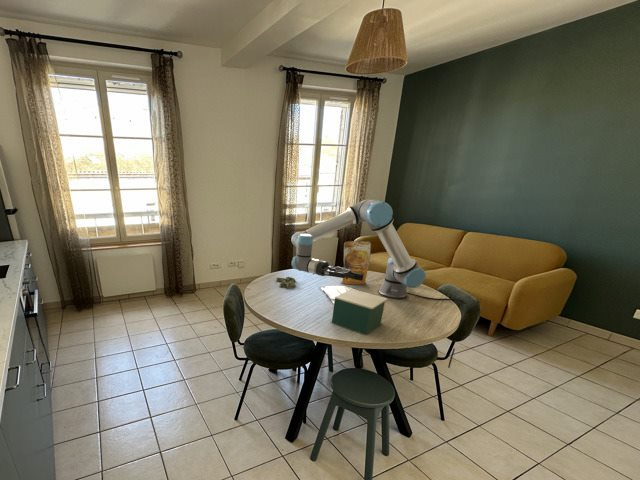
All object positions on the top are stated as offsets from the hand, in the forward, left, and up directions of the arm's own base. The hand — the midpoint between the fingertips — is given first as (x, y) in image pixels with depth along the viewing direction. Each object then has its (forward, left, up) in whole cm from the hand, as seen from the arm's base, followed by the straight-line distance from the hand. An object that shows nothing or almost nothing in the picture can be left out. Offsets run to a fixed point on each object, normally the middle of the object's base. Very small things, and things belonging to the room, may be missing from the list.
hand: (362, 277), depth 154 cm
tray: (-9, -38, -24) cm, 45 cm away
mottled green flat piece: (+20, -62, -24) cm, 69 cm away
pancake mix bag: (-25, -60, -24) cm, 69 cm away
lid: (0, +1, -11) cm, 11 cm away
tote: (0, 0, -23) cm, 23 cm away
